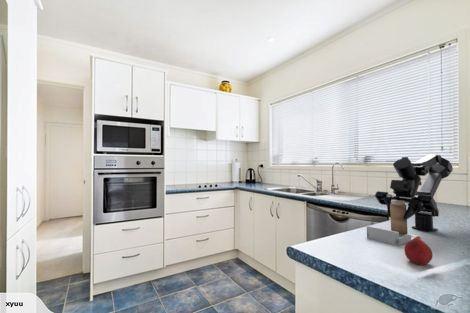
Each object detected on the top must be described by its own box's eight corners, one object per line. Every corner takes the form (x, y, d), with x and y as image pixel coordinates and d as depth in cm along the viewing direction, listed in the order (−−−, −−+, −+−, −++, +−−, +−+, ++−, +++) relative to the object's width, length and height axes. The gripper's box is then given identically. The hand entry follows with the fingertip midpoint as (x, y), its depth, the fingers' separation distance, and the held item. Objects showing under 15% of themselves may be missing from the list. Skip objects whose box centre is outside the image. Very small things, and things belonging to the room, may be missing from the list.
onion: (421, 272, 56) (420, 240, 57) (399, 263, 62) (398, 233, 62) (438, 269, 58) (437, 238, 58) (415, 260, 63) (414, 232, 64)
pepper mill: (396, 230, 87) (395, 199, 88) (410, 233, 83) (409, 201, 83) (388, 231, 86) (386, 200, 86) (401, 235, 81) (400, 201, 81)
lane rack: (390, 232, 91) (390, 220, 91) (420, 239, 82) (420, 225, 82) (367, 239, 82) (366, 225, 82) (398, 248, 73) (397, 232, 74)
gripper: (376, 172, 95) (362, 200, 89) (431, 172, 79) (419, 207, 73) (386, 189, 99) (374, 218, 93) (441, 193, 83) (430, 228, 77)
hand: (396, 217), depth 84 cm, fingers closed on pepper mill, 5 cm apart
